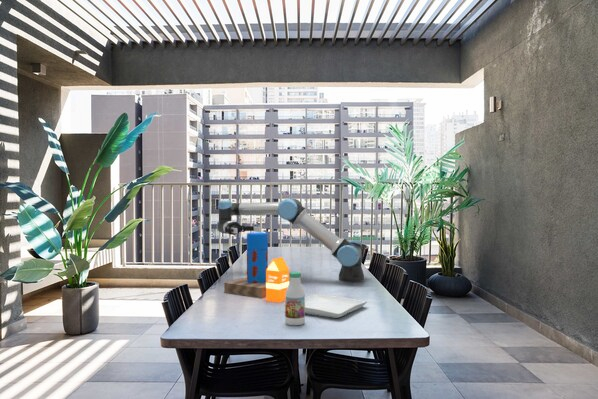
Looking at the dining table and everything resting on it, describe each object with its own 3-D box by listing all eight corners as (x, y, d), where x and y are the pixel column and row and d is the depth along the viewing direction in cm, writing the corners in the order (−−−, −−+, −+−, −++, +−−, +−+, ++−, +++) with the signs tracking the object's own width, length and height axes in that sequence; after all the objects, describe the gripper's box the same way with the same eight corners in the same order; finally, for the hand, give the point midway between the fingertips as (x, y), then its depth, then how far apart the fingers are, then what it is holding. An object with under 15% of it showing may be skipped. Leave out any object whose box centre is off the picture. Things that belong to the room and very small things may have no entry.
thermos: (264, 283, 239) (264, 234, 239) (244, 283, 241) (244, 234, 241) (269, 279, 250) (269, 232, 249) (250, 279, 252) (250, 232, 252)
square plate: (340, 322, 189) (340, 312, 188) (283, 313, 203) (283, 304, 203) (367, 308, 212) (367, 299, 211) (314, 300, 226) (314, 292, 226)
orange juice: (289, 298, 228) (289, 257, 228) (279, 302, 221) (279, 259, 220) (275, 296, 232) (275, 256, 232) (265, 300, 224) (265, 258, 224)
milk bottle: (284, 320, 190) (284, 271, 189) (303, 320, 190) (303, 270, 190) (285, 326, 182) (285, 274, 182) (305, 325, 183) (305, 274, 182)
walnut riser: (289, 289, 249) (289, 280, 249) (261, 298, 229) (261, 288, 229) (253, 284, 262) (253, 275, 262) (224, 292, 242) (224, 282, 242)
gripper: (251, 233, 278) (269, 235, 260) (211, 235, 265) (227, 238, 247) (251, 220, 278) (268, 222, 260) (211, 222, 265) (226, 224, 247)
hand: (248, 230), depth 253 cm, fingers open, 13 cm apart
